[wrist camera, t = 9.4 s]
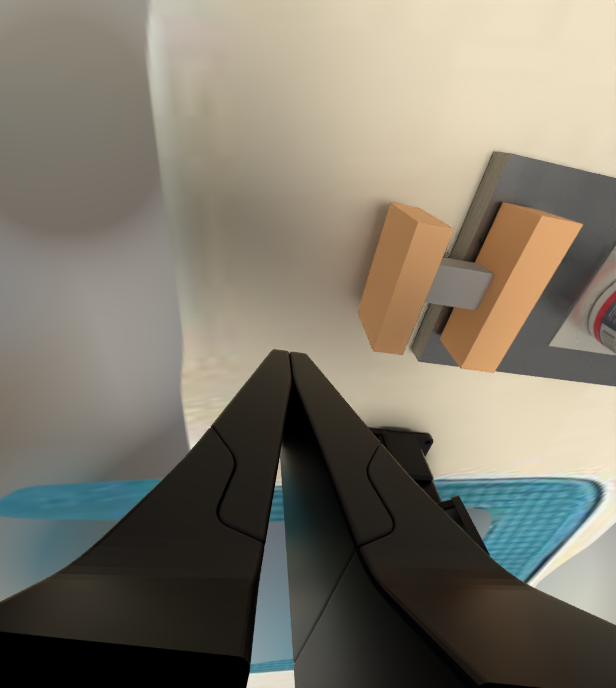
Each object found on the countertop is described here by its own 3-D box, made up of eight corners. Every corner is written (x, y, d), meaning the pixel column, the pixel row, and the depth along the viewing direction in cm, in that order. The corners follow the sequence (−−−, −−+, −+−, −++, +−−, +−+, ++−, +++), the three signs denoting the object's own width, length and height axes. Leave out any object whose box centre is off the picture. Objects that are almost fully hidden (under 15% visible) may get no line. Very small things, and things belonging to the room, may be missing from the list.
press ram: (469, 343, 21) (504, 384, 18) (353, 327, 20) (367, 367, 17) (538, 209, 17) (601, 230, 14) (397, 179, 16) (427, 194, 12)
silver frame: (619, 376, 26) (677, 419, 22) (411, 348, 23) (435, 392, 19) (758, 213, 20) (872, 234, 16) (494, 151, 17) (554, 158, 13)
